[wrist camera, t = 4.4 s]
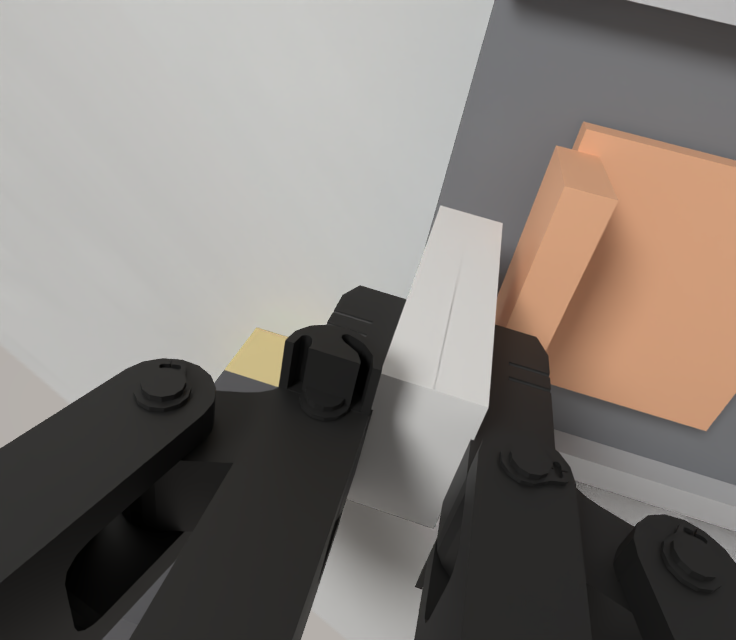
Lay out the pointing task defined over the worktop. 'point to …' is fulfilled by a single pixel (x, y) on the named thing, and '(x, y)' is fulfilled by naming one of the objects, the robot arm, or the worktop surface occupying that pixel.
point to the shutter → (632, 275)
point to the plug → (243, 374)
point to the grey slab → (560, 127)
